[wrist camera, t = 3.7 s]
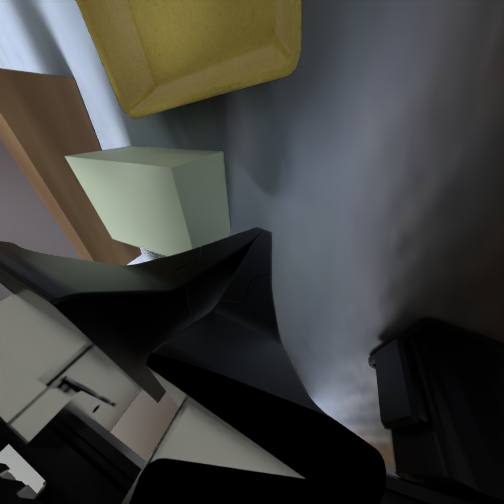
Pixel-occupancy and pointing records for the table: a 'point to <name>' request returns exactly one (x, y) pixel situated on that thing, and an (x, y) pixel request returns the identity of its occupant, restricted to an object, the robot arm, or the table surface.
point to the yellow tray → (191, 47)
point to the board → (56, 156)
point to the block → (157, 195)
